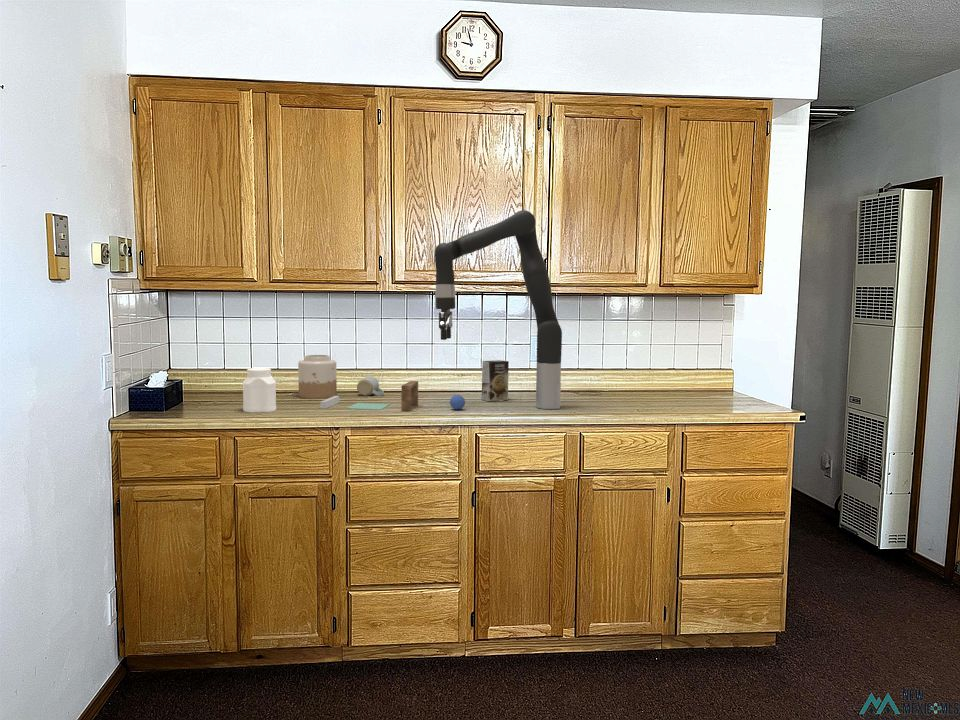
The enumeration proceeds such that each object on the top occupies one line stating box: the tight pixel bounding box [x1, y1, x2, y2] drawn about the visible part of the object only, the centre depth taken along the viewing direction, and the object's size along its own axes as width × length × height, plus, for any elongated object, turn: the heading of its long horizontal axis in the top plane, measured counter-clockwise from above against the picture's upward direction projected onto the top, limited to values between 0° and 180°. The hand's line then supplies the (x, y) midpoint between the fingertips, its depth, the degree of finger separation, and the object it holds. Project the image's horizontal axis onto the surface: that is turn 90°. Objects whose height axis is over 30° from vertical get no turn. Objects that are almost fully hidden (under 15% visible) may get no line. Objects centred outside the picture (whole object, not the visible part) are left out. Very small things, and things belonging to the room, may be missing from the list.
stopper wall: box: [319, 395, 341, 410], centre depth 282 cm, size 2×16×2 cm, turn 172°
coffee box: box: [481, 359, 510, 402], centre depth 300 cm, size 9×6×16 cm
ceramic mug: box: [356, 375, 384, 397], centre depth 311 cm, size 11×8×8 cm
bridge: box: [400, 380, 419, 412], centre depth 278 cm, size 3×15×9 cm, turn 172°
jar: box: [242, 367, 277, 413], centre depth 269 cm, size 12×10×15 cm
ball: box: [449, 394, 466, 411], centre depth 276 cm, size 6×6×6 cm
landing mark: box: [346, 402, 391, 411], centre depth 281 cm, size 13×13×1 cm
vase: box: [297, 354, 338, 400], centre depth 305 cm, size 15×15×17 cm
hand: (446, 339), depth 284 cm, fingers open, 8 cm apart
